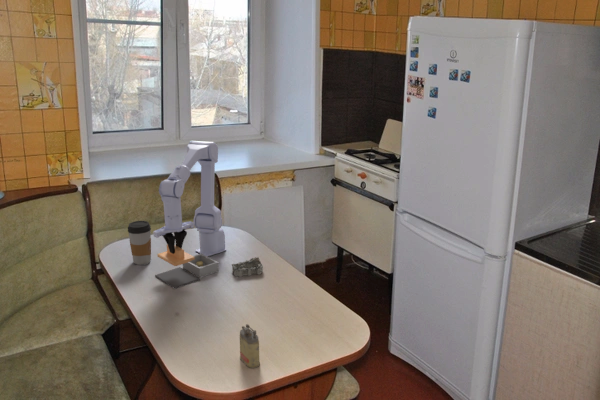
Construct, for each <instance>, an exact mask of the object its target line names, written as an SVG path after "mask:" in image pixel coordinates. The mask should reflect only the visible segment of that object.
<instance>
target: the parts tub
mask: <svg viewBox="0 0 600 400" xmlns="http://www.w3.org/2000/svg"><path fill="white" fill-rule="evenodd" d="M193 256H194V258H195V260H192V261H190V262H188V263H184V264H182V269H184V270H186V271H188V272H190V273H191V274H193V275H195V276H197V277H198V278H200V279H201V278H203V277H206V276H209V275H212V274H215V273H218V272H219V271H220V270H219V269H220V268H219V266H220V265H219V262H218V261H217V260H215V259H213V258H211V257H210V256H208V257H207V256H205V255H203V254H200V253H198V254H195V255H193Z"/></svg>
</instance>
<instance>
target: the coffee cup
mask: <svg viewBox="0 0 600 400" xmlns="http://www.w3.org/2000/svg"><path fill="white" fill-rule="evenodd" d="M151 231H152V228H151V224H150V222H149V221H148V220H147V221H146V220H135V221H131V222H130V223H129V224H128V227H127V232H128V237H129V244H130V245H129V246H130V251H131V256H132V262H133V263H134V264H135V265H137V266H143V265H148V264H149V263H150V262H151V260H152V236H151V235H152V233H151Z"/></svg>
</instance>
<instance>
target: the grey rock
mask: <svg viewBox="0 0 600 400" xmlns="http://www.w3.org/2000/svg"><path fill="white" fill-rule="evenodd" d="M231 267H232V273H234V274H233V275H234V277H240V278H241V277H243V276H252V275H253V274H256V275H261V273H263V272H264V271H263V268H264V266H263V264H262V263H261V260H260V258H259V256H257V257H252V258H250V259H249V260H245V261H240V262H236V263H231Z"/></svg>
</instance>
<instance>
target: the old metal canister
mask: <svg viewBox="0 0 600 400" xmlns="http://www.w3.org/2000/svg"><path fill="white" fill-rule="evenodd" d="M239 354H240V355H239V360H241V361H242V362H243V363H244V364H245V365H246V366H247V368H251V369H252V368H253V369H254V368H258V367H259V366H260V365H261V364H260V341H259V336H258V335H257V330H255V329H253V328H252V327H250V325H249V324H248V323H247V324H245V326H244V325H242V326H241V329H240V331H239Z"/></svg>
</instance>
